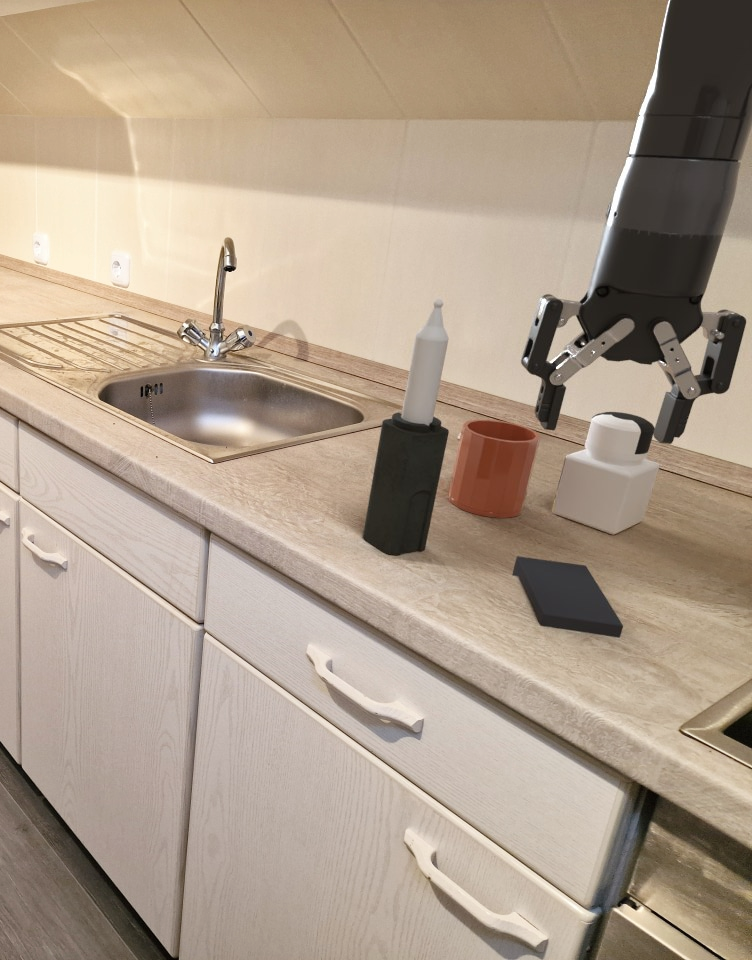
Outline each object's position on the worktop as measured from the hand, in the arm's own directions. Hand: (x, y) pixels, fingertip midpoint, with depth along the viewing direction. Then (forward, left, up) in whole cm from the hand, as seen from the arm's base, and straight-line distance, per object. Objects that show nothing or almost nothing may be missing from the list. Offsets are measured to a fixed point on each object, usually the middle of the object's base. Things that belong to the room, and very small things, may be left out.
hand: (604, 434), depth 68 cm
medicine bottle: (-11, -26, -17) cm, 33 cm away
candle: (+13, -12, -17) cm, 25 cm away
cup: (+1, -26, -17) cm, 32 cm away
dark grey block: (-1, 0, -17) cm, 17 cm away
